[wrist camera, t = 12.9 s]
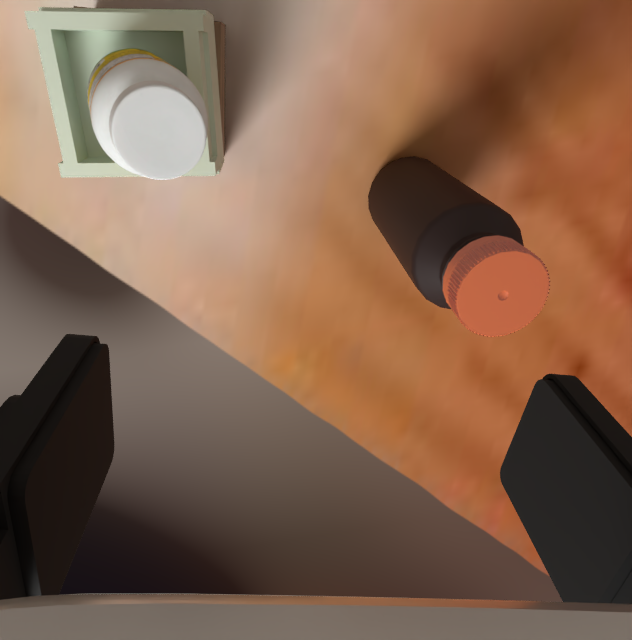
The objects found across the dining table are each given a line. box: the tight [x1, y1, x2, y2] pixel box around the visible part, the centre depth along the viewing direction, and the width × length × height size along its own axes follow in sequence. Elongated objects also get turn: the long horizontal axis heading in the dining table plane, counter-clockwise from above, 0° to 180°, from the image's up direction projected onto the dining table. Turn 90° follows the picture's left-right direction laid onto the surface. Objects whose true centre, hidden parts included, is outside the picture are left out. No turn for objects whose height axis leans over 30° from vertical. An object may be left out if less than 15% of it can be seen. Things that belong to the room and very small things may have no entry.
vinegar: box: [368, 157, 550, 337], centre depth 34 cm, size 7×7×20 cm
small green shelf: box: [25, 7, 224, 177], centre depth 31 cm, size 9×9×6 cm
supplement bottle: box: [87, 48, 208, 180], centre depth 26 cm, size 5×5×10 cm
